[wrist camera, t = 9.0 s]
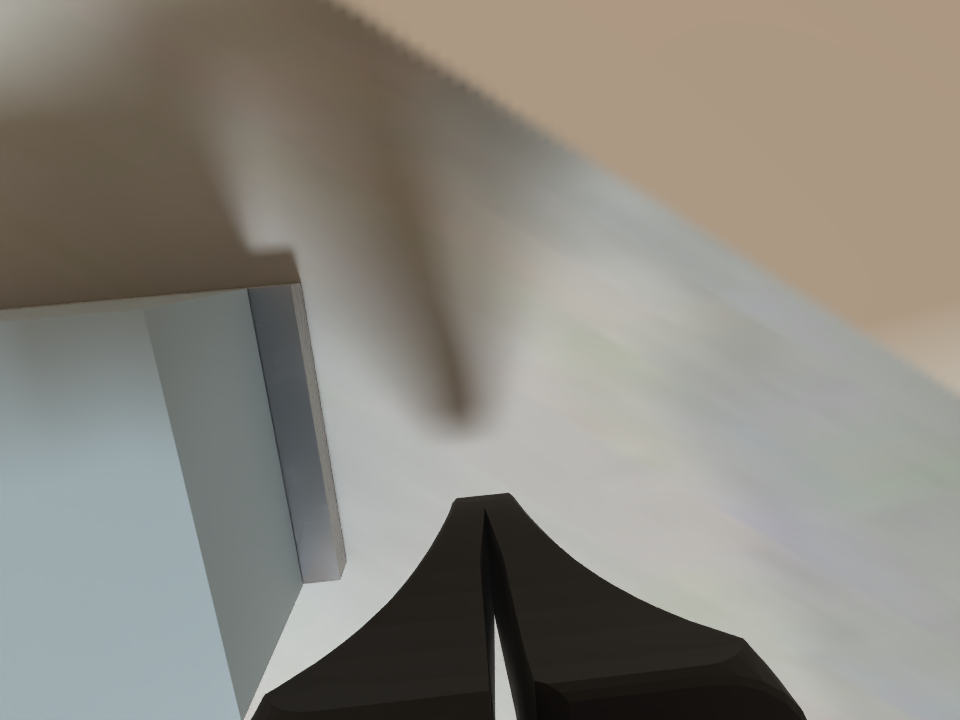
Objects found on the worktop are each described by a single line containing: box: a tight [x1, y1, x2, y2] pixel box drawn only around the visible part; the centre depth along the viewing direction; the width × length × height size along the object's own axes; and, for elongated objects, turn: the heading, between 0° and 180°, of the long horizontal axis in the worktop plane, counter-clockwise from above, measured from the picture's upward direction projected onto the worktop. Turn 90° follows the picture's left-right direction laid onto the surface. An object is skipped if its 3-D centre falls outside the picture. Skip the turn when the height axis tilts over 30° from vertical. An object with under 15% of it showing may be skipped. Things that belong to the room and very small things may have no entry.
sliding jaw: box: [0, 289, 303, 720], centre depth 10 cm, size 8×7×4 cm
